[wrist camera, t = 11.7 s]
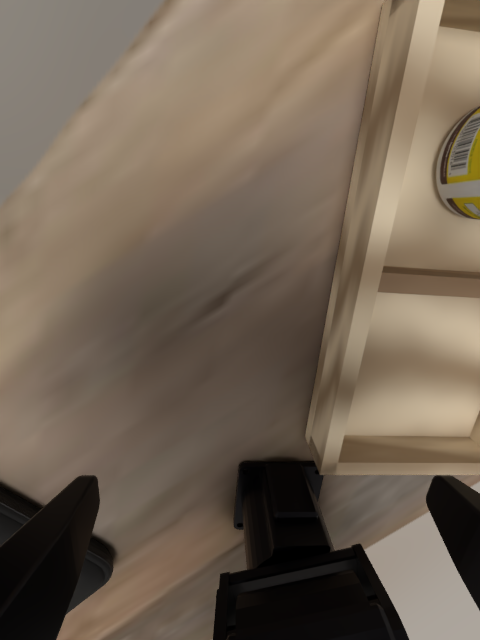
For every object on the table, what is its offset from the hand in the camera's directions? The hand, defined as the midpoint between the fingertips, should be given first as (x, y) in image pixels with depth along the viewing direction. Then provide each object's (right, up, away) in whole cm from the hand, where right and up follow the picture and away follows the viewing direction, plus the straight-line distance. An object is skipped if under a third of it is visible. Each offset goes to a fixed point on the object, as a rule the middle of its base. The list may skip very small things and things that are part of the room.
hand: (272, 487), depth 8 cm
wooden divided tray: (+11, +7, +11) cm, 17 cm away
